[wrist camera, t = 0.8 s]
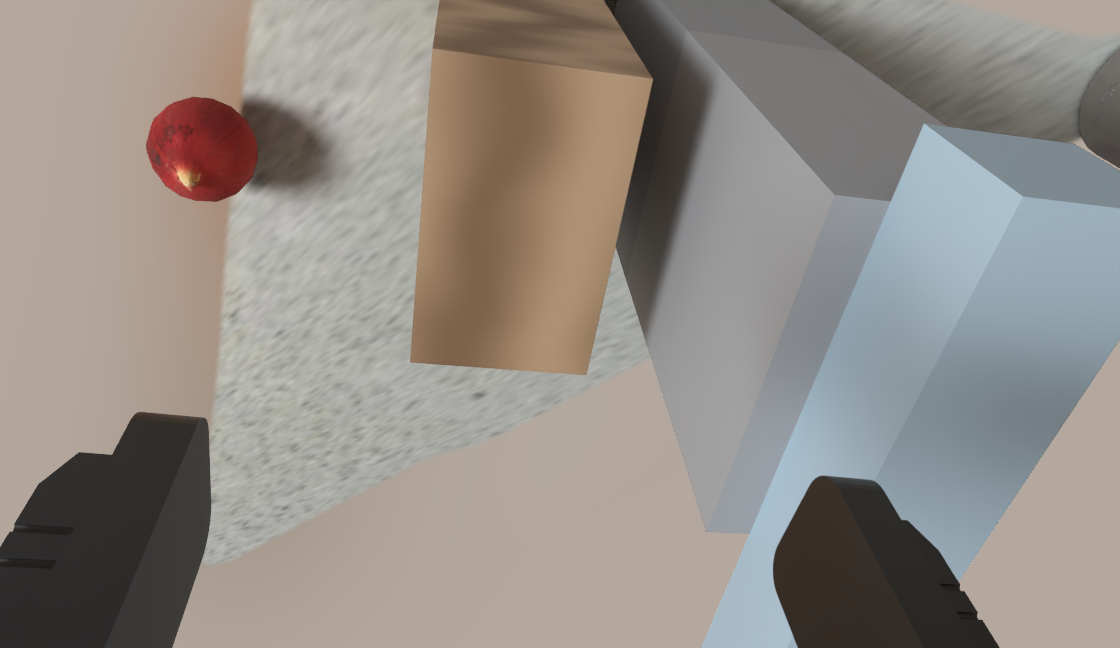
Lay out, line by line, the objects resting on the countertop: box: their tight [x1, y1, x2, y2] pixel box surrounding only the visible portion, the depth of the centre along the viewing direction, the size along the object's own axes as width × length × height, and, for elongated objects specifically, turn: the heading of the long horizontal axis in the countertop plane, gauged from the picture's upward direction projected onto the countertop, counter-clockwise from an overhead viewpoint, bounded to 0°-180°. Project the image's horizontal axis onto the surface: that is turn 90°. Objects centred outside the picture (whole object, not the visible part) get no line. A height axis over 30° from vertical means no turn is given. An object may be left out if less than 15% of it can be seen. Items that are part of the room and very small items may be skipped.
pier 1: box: [410, 0, 653, 375], centre depth 38 cm, size 7×12×24 cm, turn 171°
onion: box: [146, 97, 258, 202], centre depth 46 cm, size 6×6×8 cm
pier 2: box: [614, 0, 947, 534], centre depth 36 cm, size 7×12×32 cm, turn 171°
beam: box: [701, 124, 1120, 648], centre depth 23 cm, size 4×22×4 cm, turn 171°
